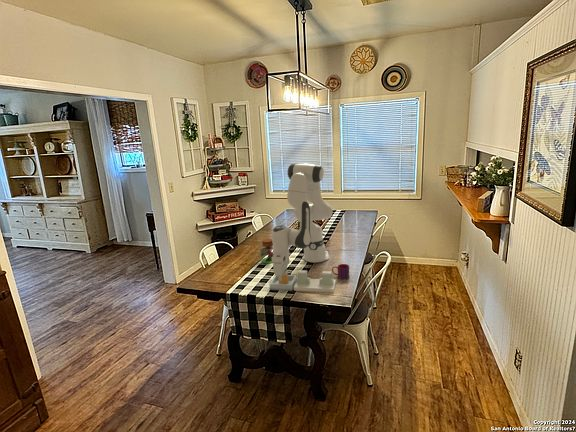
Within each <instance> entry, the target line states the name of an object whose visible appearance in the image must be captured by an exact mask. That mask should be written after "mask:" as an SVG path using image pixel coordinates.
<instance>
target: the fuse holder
mask: <svg viewBox="0 0 576 432" xmlns="http://www.w3.org/2000/svg"><path fill="white" fill-rule="evenodd" d="M307 277H308V276H307ZM296 280H297V282H296V284H295V286H294V288H293V290H294V292H295V291H296V292H311V293H312V292H314V293H315V292H316V293H334V292H335V290H336V284H337V279H334V278H333V277H332V285H323V281H322V277H320V278H311V277H308V278H307V284H298V276H297V278H296Z"/></svg>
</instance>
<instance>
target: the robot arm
mask: <svg viewBox="0 0 576 432" xmlns="http://www.w3.org/2000/svg"><path fill="white" fill-rule="evenodd" d="M287 177H288V179H289V184H288V189H287V194H286V199H287V202H288V204H289V206H290V207H292V208H293V216H294V218H295V219H296V220H297V221H298V222H299V229H296V228H291V227H287V226H286V225H284V224H283V225H277V226H274V227H273V228H272V234H271V236H272V237H271V239H272V242H273V245H272V247H273V249H272V251H273V252H272V253H273V254H272V255H273V256H272V262H273V263H272V268H273V274H274V276H278V277H279V281H282V280H283V277H282V274H283V272H284V271H288V266H289V264H290V249H289V246H293V247H296V248H299V249H301V250H303V256H301V257H302V258H301V259H302V260H305V261H306V262H308V263H321V262H325V261H328V260H330V255H329V252H328V250H327V249H326V245H325V244H324V239H323V238H324V237H323V229H322V227H321V226H320V225H319V224H317V223H314V222H313V221H321V220H322V221H323V220H327V219H330V218H331V217H332V216H333V208H332V206H331V205H330V204H329V203H328V202H327V201H325V200H324V199H323V197H322V196H323V195H322V194H321V182H322V180H323V178H324V168H323V166H321V165H319V164H313V163H291V164H290V165H289V166H288V169H287ZM309 202H310V203H309Z"/></svg>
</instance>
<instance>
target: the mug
mask: <svg viewBox="0 0 576 432" xmlns="http://www.w3.org/2000/svg"><path fill="white" fill-rule="evenodd" d="M334 269H337V273H336V272H335V271H334ZM331 271H332V274H333V275H335V276H337V278H338V279H341V280H347V279H350V265H349V264H348V263H347V264H345V263H342V264H341V263H340V264H338V265H337V266H333V267H332V268H331Z"/></svg>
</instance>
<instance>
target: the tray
mask: <svg viewBox="0 0 576 432" xmlns="http://www.w3.org/2000/svg"><path fill="white" fill-rule="evenodd" d="M297 277H298V274H297V275H296V274H288V281H289V283H288V284H279V279H278V276H275V275H274V277H273V278H272V280H271V281H270V283H269V290H270V291H286V292H289V291H290V292H292V291H293V290H294V286H295V284H296V282H297V280H296V278H297Z"/></svg>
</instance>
